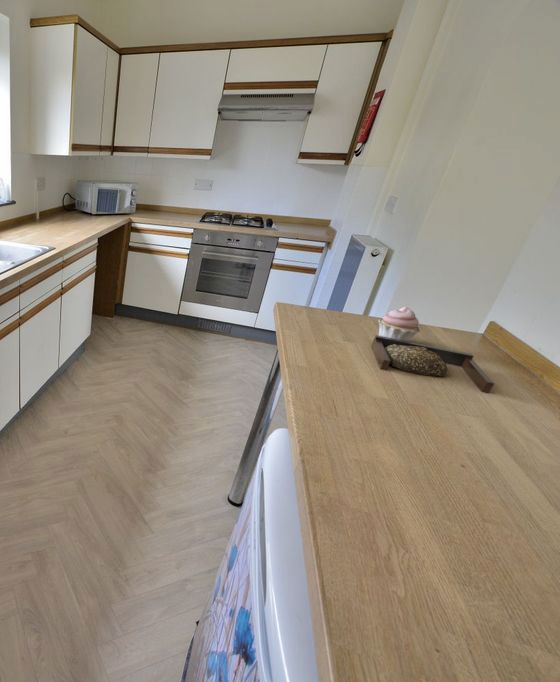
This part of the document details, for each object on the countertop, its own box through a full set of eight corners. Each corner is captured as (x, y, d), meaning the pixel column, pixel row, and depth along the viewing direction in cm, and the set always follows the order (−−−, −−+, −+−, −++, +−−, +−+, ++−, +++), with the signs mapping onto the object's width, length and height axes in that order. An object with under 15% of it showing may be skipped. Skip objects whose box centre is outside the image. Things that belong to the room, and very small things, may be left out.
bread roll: (385, 367, 98) (393, 349, 96) (377, 349, 108) (384, 332, 106) (454, 383, 92) (464, 363, 90) (439, 362, 102) (449, 344, 100)
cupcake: (363, 334, 117) (376, 301, 113) (390, 333, 118) (404, 300, 114) (393, 348, 108) (409, 313, 104) (422, 347, 110) (438, 312, 106)
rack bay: (465, 365, 101) (471, 353, 100) (488, 393, 89) (496, 380, 87) (371, 345, 110) (375, 335, 108) (380, 369, 97) (385, 357, 96)
